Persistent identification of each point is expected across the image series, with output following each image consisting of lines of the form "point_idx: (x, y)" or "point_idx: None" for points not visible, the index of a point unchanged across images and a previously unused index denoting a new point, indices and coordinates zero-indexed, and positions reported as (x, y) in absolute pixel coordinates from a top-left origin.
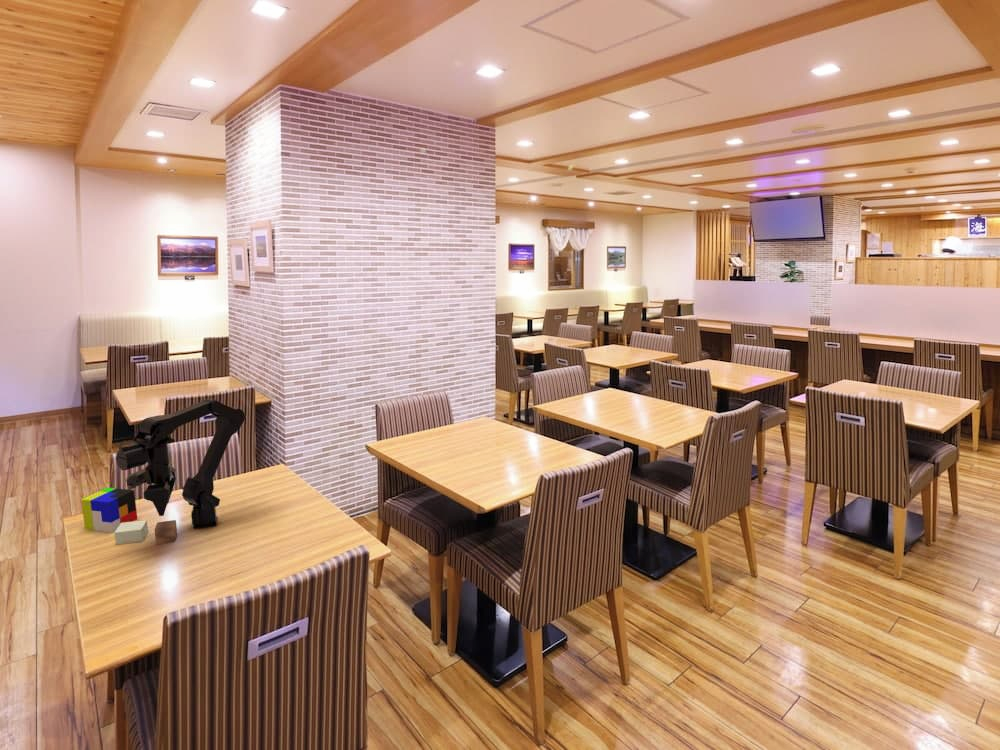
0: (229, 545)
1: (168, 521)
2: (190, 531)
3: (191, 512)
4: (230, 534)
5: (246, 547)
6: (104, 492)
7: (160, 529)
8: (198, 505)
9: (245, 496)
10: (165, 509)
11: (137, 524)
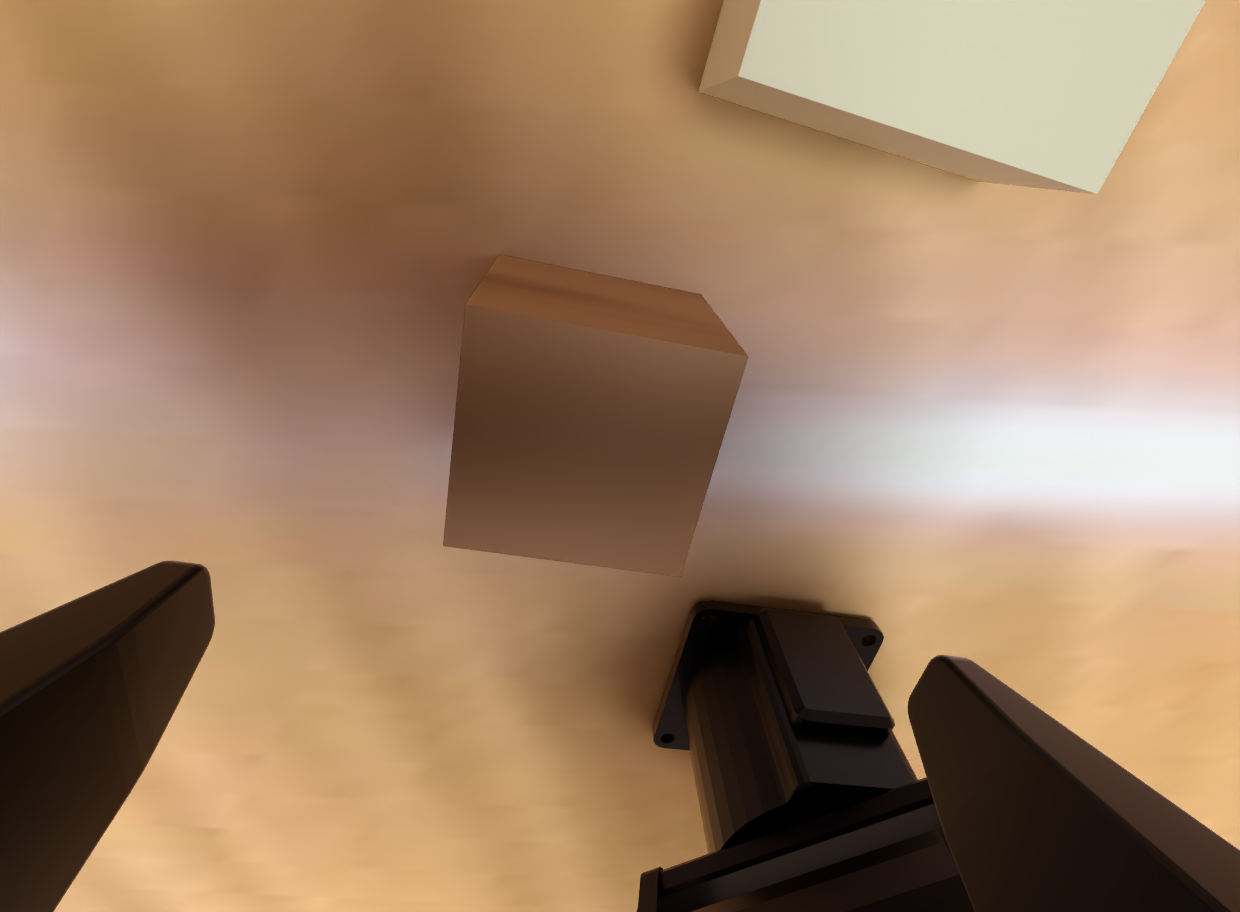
0: (215, 779)
1: (678, 498)
2: None
3: (826, 713)
4: (430, 793)
5: (142, 851)
6: None
7: (459, 382)
8: (805, 854)
9: None
10: (91, 813)
11: (1025, 22)
